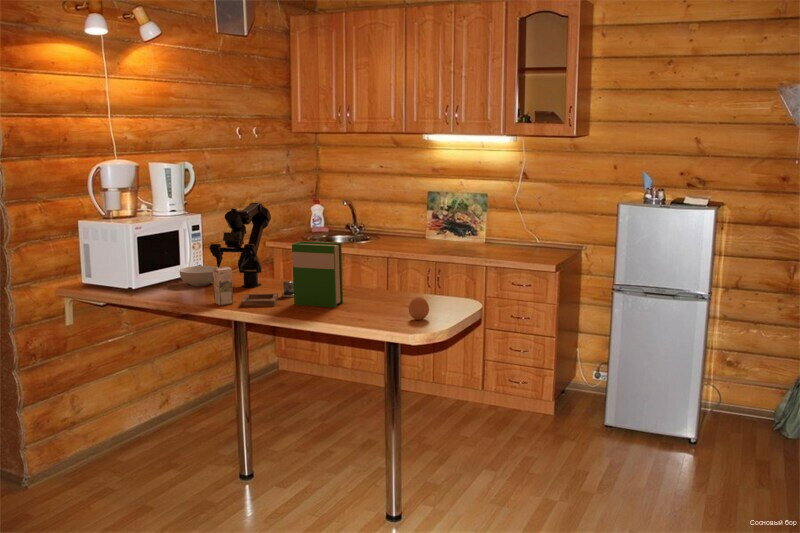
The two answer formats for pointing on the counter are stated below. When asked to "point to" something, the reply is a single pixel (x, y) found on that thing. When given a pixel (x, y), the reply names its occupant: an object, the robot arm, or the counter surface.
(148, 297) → the counter surface
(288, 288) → the chuck post
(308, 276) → the hardback book
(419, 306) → the egg
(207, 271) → the cereal bowl
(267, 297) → the socket tray
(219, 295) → the syrup box
